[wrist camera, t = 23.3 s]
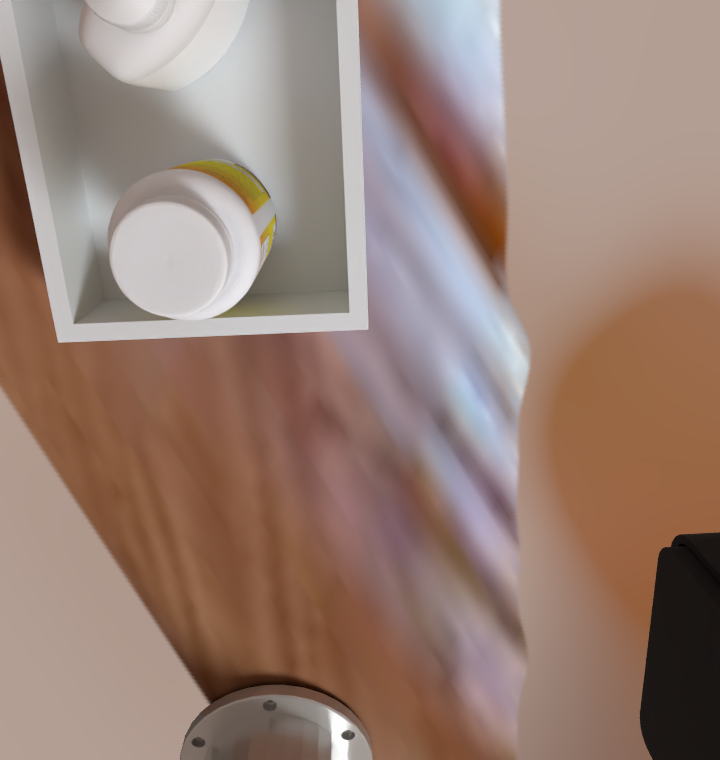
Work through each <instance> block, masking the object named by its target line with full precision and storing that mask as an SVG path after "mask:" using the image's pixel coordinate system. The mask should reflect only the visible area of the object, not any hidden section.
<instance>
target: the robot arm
mask: <svg viewBox="0 0 720 760" xmlns="http://www.w3.org/2000/svg"><path fill="white" fill-rule="evenodd" d="M640 724H641V730H642V735H643V738H644V741H645V744H646V747H647V749H648V751H649V753H650V755H651V757H652V759H653V760H720V533H701V534H683V535H678V536H676V537H675V538H674V540H673V542H672V545H671V547H665V548H663V549H662V550H661V551H660V553H659V557H658V564H657V573H656V581H655V591H654V599H653V607H652V615H651V625H650V632H649V641H648V650H647V658H646V667H645V675H644V684H643V692H642V701H641V709H640ZM180 760H373V751H372V745H371V741H370V738H369V735H368V733H367V731H366V729H365V728H364V726H363V724H362V723H361V721H360V720H359V719H358V718H357V717H356V716H355V715H354V714H353V712H352V711H351V710H350V709H348V708H347V707H345V706H344V705H343V704H341V703H340V702H338V701H337V700H335V699H333V698H331V697H329V696H327V695H325V694H323V693H320V692H317V691H314V690H310V689H307V688H304V687H297V686H290V685H262V686H256V687H250V688H245V689H242V690H239V691H236V692H233V693H230V694H228V695H226V696H224V697H222V698H220V699H218V700H216V701H215V702H213V703H212V704H211V705H209V706H208V707H207V708H206V709H204V710H203V711H202V712H201V713H200V714H199V715H198V716H197V718H196V719H195V720H194V721H193V722H192V724H191V726H190V728H189V730H188V732H187V734H186V736H185V739H184V743H183V747H182V750H181V755H180Z"/></svg>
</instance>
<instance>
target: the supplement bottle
mask: <svg viewBox="0 0 720 760" xmlns="http://www.w3.org/2000/svg"><path fill="white" fill-rule="evenodd" d="M276 226H277V222H276V212H275V207H274V204H273V201H272V199H271V196H270V194H269V192H268V191H267V189H266V188H265V186H264V185H263V184H262V182H261V181H260V180H259V179H258V178H257V177H256V176H255V175H254V174H253V173H251V172H250V171H249V170H248V169H246V168H244V167H243V166H241V165H239V164H237V163H234V162H231V161H228V160H223V159H202V160H197V161H193V162H190V163H186V164H183V165H179V166H176V167H173V168H169V169H166V170H163V171H159V172H156V173H153V174H151V175H148V176H146V177H145V178H143V179H141V180H139V181H138V182H136V183H135V184H134V185H132V186H131V187H130V188H129V189H128V190H127V191H126V192H125V193H124V194H123V196H122V197H121V198H120V200H119V201H118V203H117V204H116V206H115V208H114V210H113V213H112V216H111V219H110V223H109V227H108V251H109V261H110V267H111V270H112V274H113V277H114V279H115V281H116V283H117V284H118V286H119V288H120V289H121V291H122V292H123V293H124V294H125V295H126V296H127V297H128V298H129V299H130V300H131V301H132V302H133V303H134V304H136V305H137V306H138V307H140V308H142V309H143V310H146V311H148V312H150V313H153V314H156V315H160V316H164V317H168V318H171V319H176V320H185V321H193V320H203V319H208V318H212V317H214V316H217V315H219V314H221V313H223V312H225V311H227V310H229V309H230V308H232V307H233V306H234V305H235V304H237V303H238V302H239V301H240V300H241V299H242V298H243V297H244V295H245V294H246V293H247V292H248V290H249V289H250V287H251V286H252V284H253V282H254V280H255V278H256V276H257V274H258V273H259V271H260V269H261V267H262V265H263V264H264V262H265V260H266V258H267V256H268V254H269V252H270V250H271V247H272V245H273V242H274V239H275V235H276Z"/></svg>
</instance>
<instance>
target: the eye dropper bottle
mask: <svg viewBox="0 0 720 760" xmlns="http://www.w3.org/2000/svg"><path fill="white" fill-rule="evenodd" d="M249 3H250V0H84V2H83V6H82V10H81V15H80V21H79V31H78V32H79V39H80V42H81V44H82V46H83V48H84V49H85V50H86V52H87V53H88V54H89V55H90V56H91V57H92V58H93V59H94V60H95V61H96V62H97V63H98V64H99V65H101V66H102V67H103V68H104V69H105V70H106V71H107V72H108V73H109V74H111V75H112V76H113V77H114V78H116V79H118V80H120V81H122V82H124V83H127V84H131V85H135V86H140V87H145V88H150V89H155V90H161V91H167V92H170V91H177V90H180V89H183V88H185V87H187V86H189V85H190V84H192V83H194V82H196V81H197V80H199V79H200V78H202V77H203V76H204V75H206V74H207V73H208V72H209V71H210V70H212V69H213V68H214V67H215V66H216V65H217V64H218V63H219V62H220V61H221V59H222V58H223V57H224V56H225V55H226V53H227V52H228V51H229V49H230V48H231V46H232V45H233V43H234V41H235V40H236V38H237V36H238V34H239V32H240V30H241V27H242V25H243V23H244V20H245V17H246V14H247V11H248V8H249Z"/></svg>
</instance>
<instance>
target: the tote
mask: <svg viewBox="0 0 720 760" xmlns="http://www.w3.org/2000/svg"><path fill="white" fill-rule="evenodd" d="M83 2H84V0H0V58H1V63H2V68H3V73H4V77H5V82H6V87H7V92H8V97H9V102H10V107H11V112H12V117H13V122H14V127H15V132H16V137H17V142H18V147H19V152H20V157H21V161H22V166H23V171H24V176H25V181H26V186H27V191H28V196H29V201H30V206H31V211H32V216H33V221H34V226H35V231H36V236H37V241H38V245H39V250H40V255H41V260H42V265H43V270H44V275H45V280H46V285H47V290H48V295H49V300H50V305H51V310H52V315H53V320H54V325H55V329H56V334H57V339H58V343H59V342H83V341H107V340H130V339H154V338H178V337H202V336H226V335H250V334H274V333H298V332H322V331H346V330H368V300H367V270H366V239H365V209H364V178H363V148H362V117H361V87H360V56H359V26H358V0H250V3H249V8H248V11H247V14H246V17H245V20H244V23H243V25H242V27H241V30H240V32H239V34H238V36H237V38H236V40H235V41H234V43H233V45H232V46H231V48H230V49H229V51H228V52H227V53H226V55H225V56H224V57H223V58H222V59H221V61H220V62H219V63H218V64H217V65H216V66H215V67H214V68H213V69H212V70H210V71H209V72H208V73H207V74H206V75H204V76H203V77H202V78H200V79H199V80H197V81H196V82H194V83H192V84H190V85H189V86H187V87H185V88H183V89H180V90H177V91H170V92H167V91H161V90H155V89H150V88H145V87H140V86H135V85H131V84H127V83H124V82H122V81H120V80H118V79H116V78H114V77H113V76H112V75H111V74H109V73H108V72H107V71H106V70H105V69H104V68H103V67H102V66H101V65H99V64H98V63H97V62H96V61H95V60H94V59H93V58H92V57H91V56H90V55H89V54H88V53H87V52H86V50H85V49H84V48H83V46H82V44H81V42H80V39H79V32H78V31H79V21H80V15H81V10H82V6H83ZM202 159H223V160H228V161H231V162H234V163H237V164H239V165H241V166H243V167H244V168H246V169H248V170H249V171H250V172H251V173H253V174H254V175H255V176H256V177H257V178H258V179H259V180H260V181H261V182H262V184H263V185H264V186H265V188H266V189H267V191H268V192H269V194H270V196H271V199H272V201H273V204H274V207H275V212H276V222H277V226H276V235H275V239H274V242H273V245H272V247H271V250H270V252H269V254H268V256H267V258H266V260H265V262H264V264H263V265H262V267H261V269H260V271H259V273H258V274H257V276H256V278H255V280H254V282H253V284H252V286H251V287H250V289H249V290H248V292H247V293H246V294H245V295H244V297H243V298H242V299H241V300H240V301H239V302H238V303H237V304H235V305H234V306H233V307H232V308H230V309H229V310H227V311H225V312H223V313H221V314H219V315H217V316H214V317H212V318H208V319H203V320H193V321H185V320H176V319H171V318H168V317H164V316H160V315H156V314H153V313H150V312H148V311H146V310H143V309H142V308H140V307H138V306H137V305H136V304H134V303H133V302H132V301H131V300H130V299H129V298H128V297H127V296H126V295H125V294H124V293H123V292H122V291H121V289H120V288H119V286H118V284H117V283H116V281H115V279H114V277H113V274H112V270H111V267H110V261H109V251H108V227H109V223H110V219H111V216H112V213H113V210H114V208H115V206H116V204H117V203H118V201H119V200H120V198H121V197H122V196H123V194H124V193H125V192H126V191H127V190H128V189H129V188H130V187H131V186H132V185H134V184H135V183H136V182H138V181H139V180H141V179H143V178H145V177H146V176H148V175H151V174H153V173H156V172H159V171H163V170H166V169H169V168H173V167H176V166H179V165H183V164H186V163H190V162H193V161H197V160H202Z"/></svg>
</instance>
